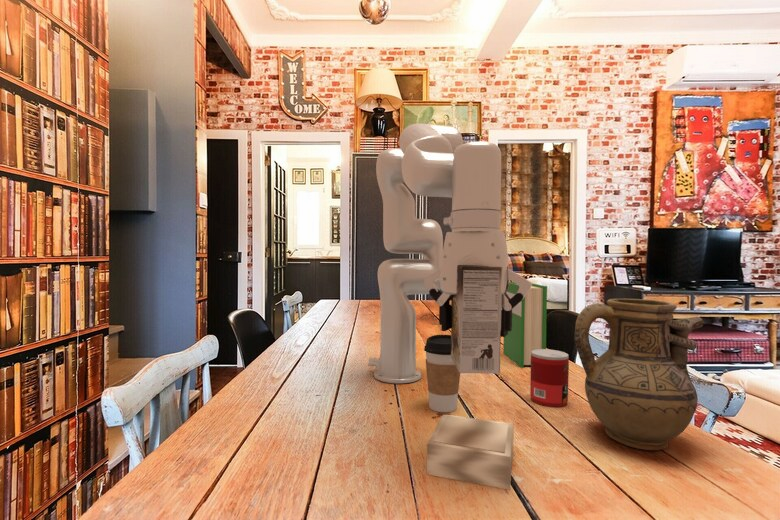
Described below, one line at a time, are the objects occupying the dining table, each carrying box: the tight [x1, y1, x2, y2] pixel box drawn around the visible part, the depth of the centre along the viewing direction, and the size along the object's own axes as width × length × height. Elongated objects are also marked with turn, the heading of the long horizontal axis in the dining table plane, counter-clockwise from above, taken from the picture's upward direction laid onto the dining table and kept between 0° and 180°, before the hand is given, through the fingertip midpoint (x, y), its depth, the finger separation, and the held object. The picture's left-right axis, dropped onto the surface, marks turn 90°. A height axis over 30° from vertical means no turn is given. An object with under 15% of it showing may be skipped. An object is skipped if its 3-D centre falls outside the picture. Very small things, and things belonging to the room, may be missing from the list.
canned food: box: [529, 348, 570, 408], centre depth 93 cm, size 8×8×11 cm
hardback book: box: [502, 281, 548, 369], centre depth 129 cm, size 18×7×24 cm, turn 1°
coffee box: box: [450, 265, 502, 375], centre depth 65 cm, size 9×6×16 cm
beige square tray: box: [426, 414, 515, 491], centre depth 66 cm, size 12×12×5 cm
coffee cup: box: [423, 334, 461, 413], centre depth 89 cm, size 8×8×15 cm
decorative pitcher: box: [574, 298, 705, 451], centre depth 74 cm, size 22×18×25 cm
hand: (474, 332), depth 65 cm, fingers closed on coffee box, 8 cm apart
